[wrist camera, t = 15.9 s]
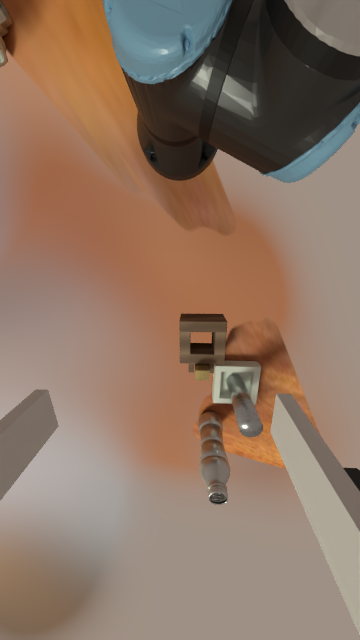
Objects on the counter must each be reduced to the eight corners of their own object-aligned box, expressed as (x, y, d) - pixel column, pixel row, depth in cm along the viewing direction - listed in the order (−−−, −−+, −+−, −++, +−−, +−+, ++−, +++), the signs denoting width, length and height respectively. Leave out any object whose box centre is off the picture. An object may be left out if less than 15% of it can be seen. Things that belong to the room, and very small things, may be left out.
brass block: (194, 353, 50) (195, 370, 42) (206, 353, 50) (209, 370, 42) (194, 361, 51) (195, 379, 43) (206, 361, 50) (209, 380, 43)
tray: (214, 360, 51) (215, 366, 48) (257, 361, 50) (261, 367, 47) (212, 395, 54) (213, 402, 51) (252, 397, 54) (255, 404, 51)
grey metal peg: (226, 373, 51) (240, 418, 37) (243, 373, 51) (264, 419, 37) (225, 387, 52) (238, 436, 38) (242, 388, 52) (261, 437, 38)
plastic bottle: (223, 423, 57) (239, 507, 38) (200, 427, 58) (205, 511, 39) (218, 406, 55) (232, 485, 36) (195, 410, 56) (197, 489, 37)
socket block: (181, 313, 47) (179, 321, 42) (222, 314, 47) (227, 322, 41) (181, 361, 51) (180, 374, 46) (219, 362, 51) (223, 375, 45)
